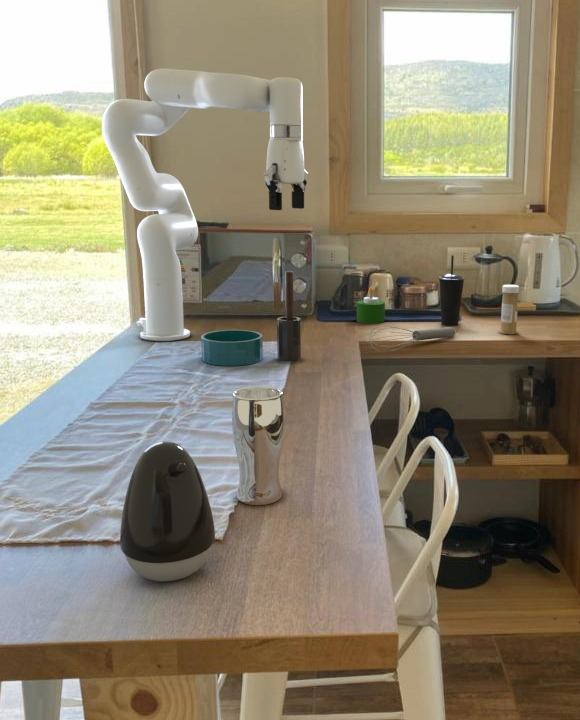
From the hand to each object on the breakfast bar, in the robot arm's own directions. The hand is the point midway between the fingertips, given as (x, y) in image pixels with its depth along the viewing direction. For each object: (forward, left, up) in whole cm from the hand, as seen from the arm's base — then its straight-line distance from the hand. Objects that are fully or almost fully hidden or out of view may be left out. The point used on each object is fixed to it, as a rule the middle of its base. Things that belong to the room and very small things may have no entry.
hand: (287, 209), depth 190 cm
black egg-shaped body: (+48, -100, -34) cm, 116 cm away
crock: (+6, -9, -34) cm, 36 cm away
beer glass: (+45, -78, -34) cm, 96 cm away
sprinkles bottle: (+41, +49, -34) cm, 73 cm away
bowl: (-5, -16, -34) cm, 38 cm away
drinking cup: (+22, +53, -34) cm, 67 cm away
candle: (0, +45, -34) cm, 57 cm away
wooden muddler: (+6, -9, -34) cm, 36 cm away
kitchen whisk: (+24, +22, -34) cm, 47 cm away
